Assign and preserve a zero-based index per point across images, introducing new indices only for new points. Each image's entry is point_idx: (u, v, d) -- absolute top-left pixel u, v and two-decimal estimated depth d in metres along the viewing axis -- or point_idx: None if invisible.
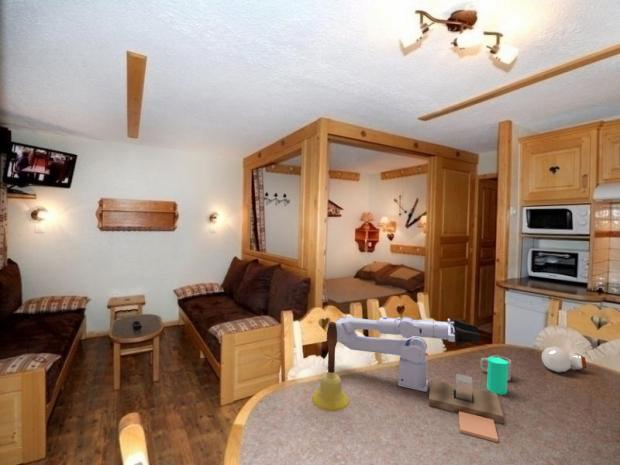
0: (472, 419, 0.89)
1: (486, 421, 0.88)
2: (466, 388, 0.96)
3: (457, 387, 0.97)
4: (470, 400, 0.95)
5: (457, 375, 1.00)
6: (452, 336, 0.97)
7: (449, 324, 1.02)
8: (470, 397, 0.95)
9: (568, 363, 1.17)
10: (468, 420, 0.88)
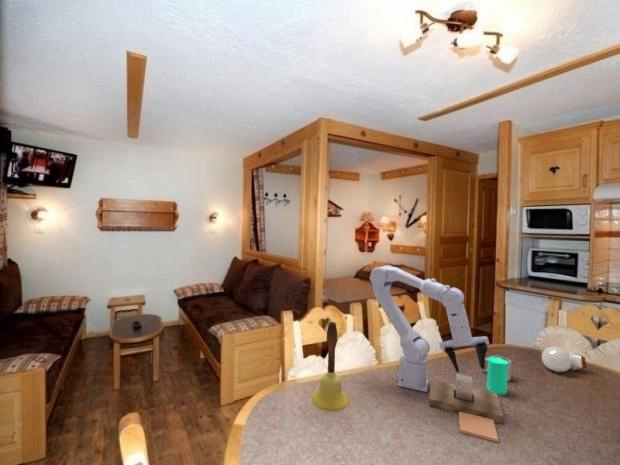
0: (472, 419, 0.89)
1: (486, 421, 0.88)
2: (466, 388, 0.96)
3: (457, 387, 0.97)
4: (470, 400, 0.95)
5: (457, 375, 1.00)
6: (441, 347, 0.99)
7: (460, 344, 0.96)
8: (470, 397, 0.95)
9: (568, 363, 1.17)
10: (468, 420, 0.88)
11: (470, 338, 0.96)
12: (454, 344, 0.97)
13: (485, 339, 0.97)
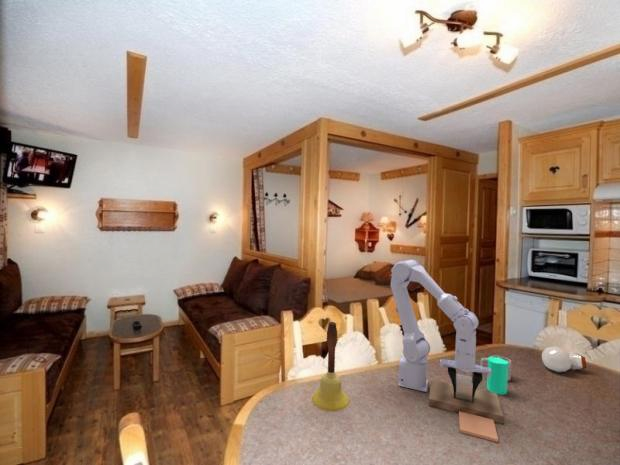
0: (472, 419, 0.89)
1: (486, 421, 0.88)
2: (466, 388, 0.96)
3: (457, 387, 0.97)
4: (470, 400, 0.95)
5: (457, 375, 1.00)
6: (440, 364, 1.00)
7: (459, 368, 0.96)
8: (470, 397, 0.95)
9: (568, 363, 1.17)
10: (468, 420, 0.88)
11: (472, 366, 0.95)
12: (453, 366, 0.97)
13: (488, 371, 0.94)
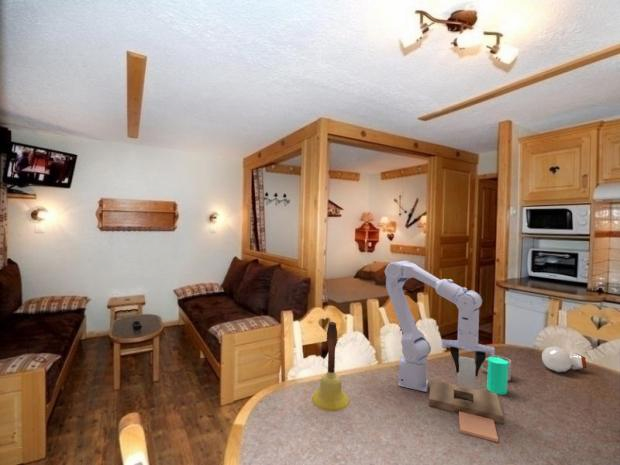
0: (472, 419, 0.89)
1: (486, 421, 0.88)
2: (469, 369, 0.94)
3: (460, 369, 0.95)
4: (473, 382, 0.93)
5: (460, 357, 0.98)
6: (442, 344, 0.98)
7: (462, 348, 0.94)
8: (473, 378, 0.93)
9: (568, 363, 1.17)
10: (468, 420, 0.88)
11: (475, 345, 0.93)
12: (456, 346, 0.95)
13: (491, 350, 0.92)
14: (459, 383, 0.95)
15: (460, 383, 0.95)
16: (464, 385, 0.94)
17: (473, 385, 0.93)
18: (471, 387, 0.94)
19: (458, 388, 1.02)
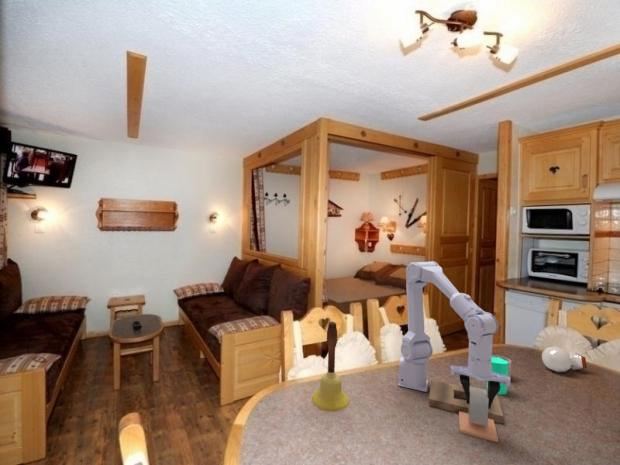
0: None
1: None
2: (481, 403, 0.84)
3: (471, 402, 0.85)
4: (486, 417, 0.84)
5: (470, 388, 0.88)
6: None
7: (473, 376, 0.84)
8: (486, 413, 0.84)
9: (568, 363, 1.17)
10: (468, 420, 0.88)
11: (488, 374, 0.83)
12: (466, 374, 0.85)
13: (506, 380, 0.82)
14: (470, 418, 0.85)
15: (471, 418, 0.85)
16: (475, 420, 0.85)
17: (486, 421, 0.84)
18: (483, 423, 0.84)
19: (458, 388, 1.02)
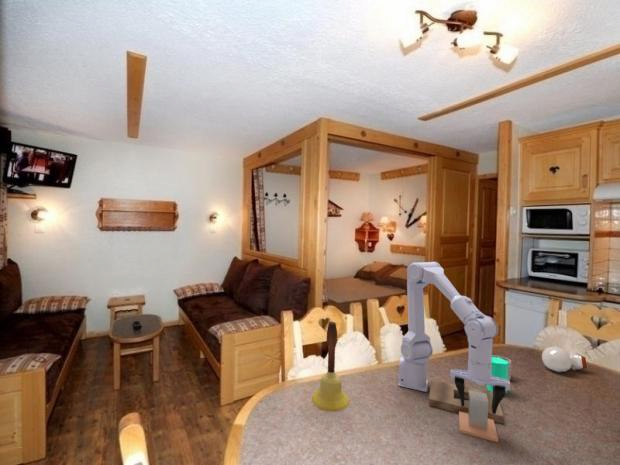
0: None
1: None
2: (481, 407, 0.84)
3: (470, 406, 0.85)
4: (485, 421, 0.84)
5: (470, 392, 0.88)
6: None
7: (473, 380, 0.84)
8: (485, 417, 0.84)
9: (568, 363, 1.17)
10: None
11: (487, 378, 0.83)
12: (466, 378, 0.85)
13: (506, 384, 0.82)
14: (469, 422, 0.85)
15: (471, 421, 0.85)
16: (475, 424, 0.85)
17: (485, 425, 0.84)
18: (483, 427, 0.84)
19: None
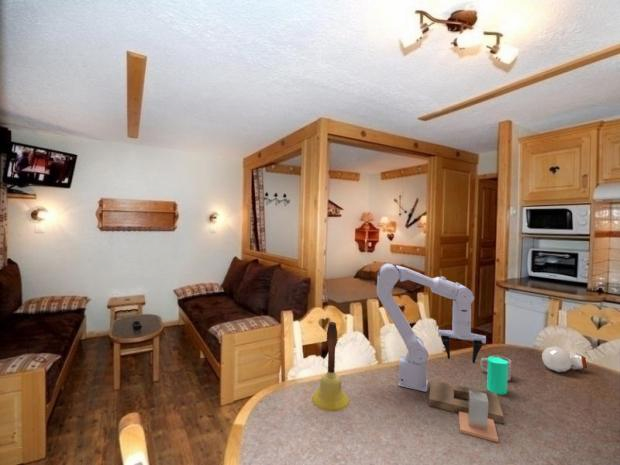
0: None
1: None
2: (481, 407, 0.84)
3: (470, 406, 0.85)
4: (485, 421, 0.84)
5: (470, 392, 0.88)
6: None
7: (456, 336, 1.04)
8: (485, 417, 0.84)
9: (568, 363, 1.17)
10: None
11: (467, 334, 1.03)
12: (451, 335, 1.05)
13: (482, 338, 1.02)
14: (469, 422, 0.85)
15: (471, 421, 0.85)
16: (475, 424, 0.85)
17: (485, 425, 0.84)
18: (483, 427, 0.84)
19: (458, 388, 1.02)
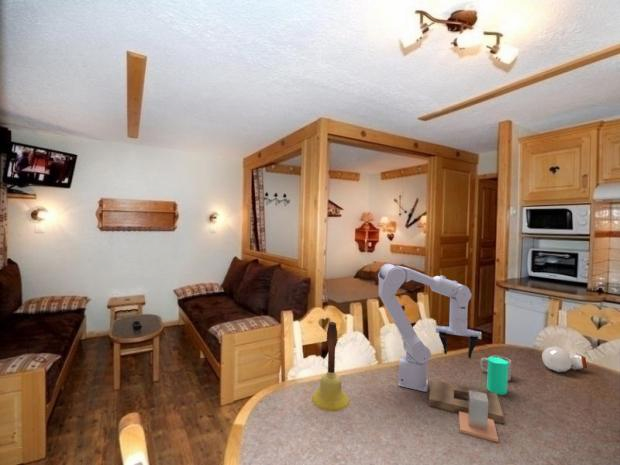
0: None
1: None
2: (481, 407, 0.84)
3: (470, 406, 0.85)
4: (485, 421, 0.84)
5: (470, 392, 0.88)
6: (436, 330, 1.12)
7: (453, 332, 1.07)
8: (485, 417, 0.84)
9: (568, 363, 1.17)
10: None
11: (464, 330, 1.07)
12: (448, 331, 1.09)
13: (478, 334, 1.06)
14: (469, 422, 0.85)
15: (471, 421, 0.85)
16: (475, 424, 0.85)
17: (485, 425, 0.84)
18: (483, 427, 0.84)
19: (458, 388, 1.02)
